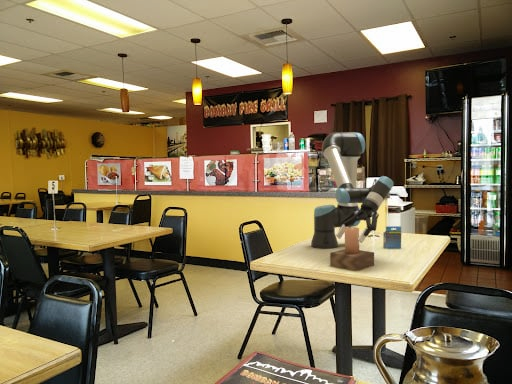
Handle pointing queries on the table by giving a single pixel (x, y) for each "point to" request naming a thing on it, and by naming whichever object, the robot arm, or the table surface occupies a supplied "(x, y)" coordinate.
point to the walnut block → (352, 260)
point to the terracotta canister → (351, 240)
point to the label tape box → (392, 237)
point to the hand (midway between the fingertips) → (348, 239)
